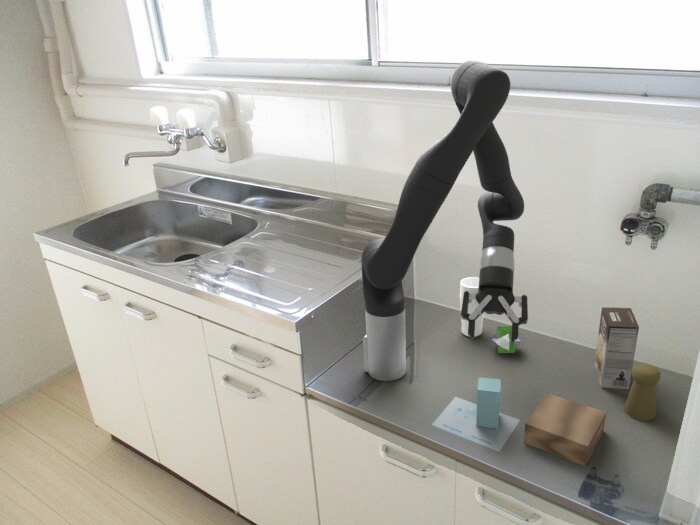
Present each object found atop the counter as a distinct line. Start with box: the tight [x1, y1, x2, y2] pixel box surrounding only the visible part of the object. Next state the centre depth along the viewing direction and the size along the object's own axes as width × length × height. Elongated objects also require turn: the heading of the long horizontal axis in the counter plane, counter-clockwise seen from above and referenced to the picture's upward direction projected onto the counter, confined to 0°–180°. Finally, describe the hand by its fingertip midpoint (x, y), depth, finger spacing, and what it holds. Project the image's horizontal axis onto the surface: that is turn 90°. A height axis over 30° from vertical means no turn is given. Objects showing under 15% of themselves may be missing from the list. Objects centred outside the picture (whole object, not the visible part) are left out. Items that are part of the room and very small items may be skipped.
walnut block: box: [523, 392, 607, 467], centre depth 118 cm, size 12×12×5 cm
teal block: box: [475, 376, 502, 429], centre depth 123 cm, size 4×4×9 cm
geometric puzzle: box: [490, 325, 522, 354], centre depth 148 cm, size 7×7×8 cm
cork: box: [623, 363, 661, 422], centre depth 123 cm, size 6×6×11 cm
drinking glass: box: [459, 276, 485, 338], centre depth 156 cm, size 7×7×15 cm
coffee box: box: [594, 306, 640, 390], centre depth 134 cm, size 9×6×16 cm
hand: (492, 339), depth 129 cm, fingers open, 8 cm apart
